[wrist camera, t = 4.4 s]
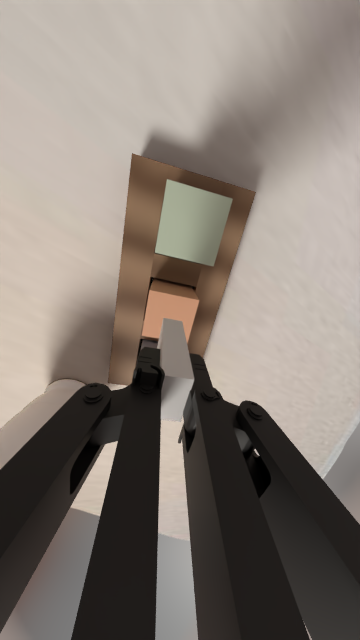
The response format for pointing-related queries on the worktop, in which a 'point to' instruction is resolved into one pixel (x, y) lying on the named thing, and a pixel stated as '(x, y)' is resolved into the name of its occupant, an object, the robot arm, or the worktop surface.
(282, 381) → the worktop surface
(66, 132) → the worktop surface
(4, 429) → the jar
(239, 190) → the brown board
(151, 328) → the terracotta toy cube
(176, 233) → the sage green block
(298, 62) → the worktop surface
